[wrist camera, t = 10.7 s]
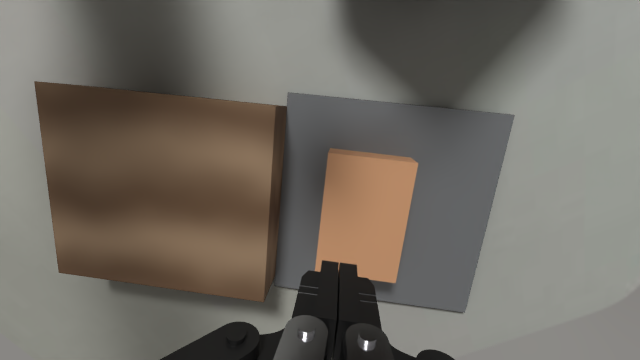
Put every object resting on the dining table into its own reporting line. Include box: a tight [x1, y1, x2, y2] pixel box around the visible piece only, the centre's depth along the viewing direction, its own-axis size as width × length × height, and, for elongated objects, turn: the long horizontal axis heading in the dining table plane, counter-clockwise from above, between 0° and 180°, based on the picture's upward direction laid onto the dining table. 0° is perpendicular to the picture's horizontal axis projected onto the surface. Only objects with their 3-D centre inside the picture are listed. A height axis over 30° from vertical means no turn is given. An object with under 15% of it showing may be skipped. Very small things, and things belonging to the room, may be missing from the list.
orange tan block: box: [315, 148, 418, 283], centre depth 22 cm, size 9×6×2 cm, turn 174°
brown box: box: [34, 81, 287, 302], centre depth 23 cm, size 14×16×4 cm
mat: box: [274, 92, 515, 312], centre depth 23 cm, size 16×16×1 cm
